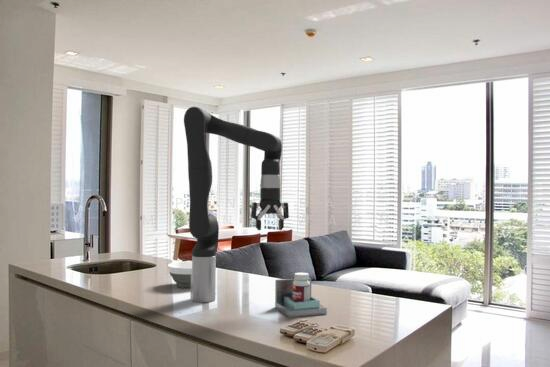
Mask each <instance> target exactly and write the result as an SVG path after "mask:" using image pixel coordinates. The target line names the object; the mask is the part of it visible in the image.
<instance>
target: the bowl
mask: <svg viewBox="0 0 550 367" xmlns="http://www.w3.org/2000/svg"><path fill="white" fill-rule="evenodd" d="M167 270H168V273H169V275H170V276H171V278H172V280H173V281H174V283H175V284H176V286H177V287H178V286H180V287H179V288H181V287H186V288H185V289H191V274H192V260H189V261H175V262H171V263H169V264H167Z"/></svg>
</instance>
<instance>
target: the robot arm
mask: <svg viewBox="0 0 550 367" xmlns="http://www.w3.org/2000/svg"><path fill="white" fill-rule="evenodd" d="M183 125H184V131H185V138H186V147H187V148H186V149H187V168H188V169H187V172H188V175H187V176H188V184H189V185H188V189H189V219H188V229H189V233H190V234H191V237H193V238H195V239H196V244H195V245H194V247H193V248H192V252H191V253H192V254H191V255H192V256H191V261H192V274H191V288H190V301H192V302H193V303H209V302H214V301H215V300H216V289H217V288H216V285H217V284H216V282H217V281H216V278H217V274H216V272H217V271H216V270H217V269H216V267H217V265H216V264H217V250H218V247H219V233H220V232H219V230H220V228H219V226H220V225H219V222H218V219H217V217H215V216H214V215H212V214H209V210H208V202H209V201H208V200H209V196H210V192H211V189H212V185H213V166H212V161H211V157H210V155H209V151H208V149H207V146H206V145H207V144H206V141H205V134H211V135H216V136H220V137H223V138H225V139H227V140H230V141H233V142H235V143H238V144H241V145H244V146H246V147H252V148H255V149H257V150H259V151H263V152H264V155H263V156H264V157H263V160H262V162H261V172H260V174H261V176H260V184H259V187H260V190H259V192H260V194H259V195H260V196H259V198H260V201H259V202H253V201H252V203H251V214H250V216H251V219H253V220H255V229H257V231H261V230H262V220H261V219H262V218H263V217H264V216H265V215H270V214H271V215H276V216H277V218H278V230H279V231H282V230H283V229H284V227H285V226H284V223H285V222H284V221H285V220H286V219H289V217H290V215H289V214H290V213H289V202H285V201H283V202H281V174H280V173H281V171H280V170H281V165H280V164H281V157H282V150H283V146H282V145H283V143H282V140H281V139H280V137H279V136H277V135H275V134H273V133H270V132H266V131H262V130H258V129H255V128H252V127H250V126H246V125H243V124H240V123H236V122H231V121H226V120H223V119H221V118H218V117H217V116H215V115H213V114H211V113H209V111H206V110H204V109H203V108H200V107H198V106H191V107H188V109H186V111H185V113H184V116H183ZM259 207H260V211H259V212H258V214H257V209H258V208H259ZM280 208H281V209H282V210H283V214H282V211H281V210H280Z"/></svg>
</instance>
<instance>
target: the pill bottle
mask: <svg viewBox="0 0 550 367" xmlns="http://www.w3.org/2000/svg"><path fill="white" fill-rule="evenodd" d="M309 278H310V274H309V273H308V272H295V273H294V276H293V279H296V280H294V281H293V301H295V302H301V301H310V282H309V281H308V280H307V279H309Z"/></svg>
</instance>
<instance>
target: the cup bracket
mask: <svg viewBox="0 0 550 367" xmlns="http://www.w3.org/2000/svg"><path fill="white" fill-rule="evenodd" d="M294 280H296V279H294V278H285V279H283V278H282V279H281V278H280V279H275V283H274V284H275V288H274V290H275V292H274V293H275V294H274V295H275V298H274V299H275V300H274V301H275V302H274V306H275V308H276V309H277V310H278V311H280V312H281V313H283V314H284V315H285V316H287V317H288V318H296V317H297V318H298V317H299V318H300V317H308V316H318V315H327V314H328V312H327V310H328V309H327V307H326V306H324V305H323V304H320V300H319V299H318V298H315V297H314V296H312V278H311V277H309V279H307V280H308V281H309V282H310V301H301V302H295V301H293V281H294Z"/></svg>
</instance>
